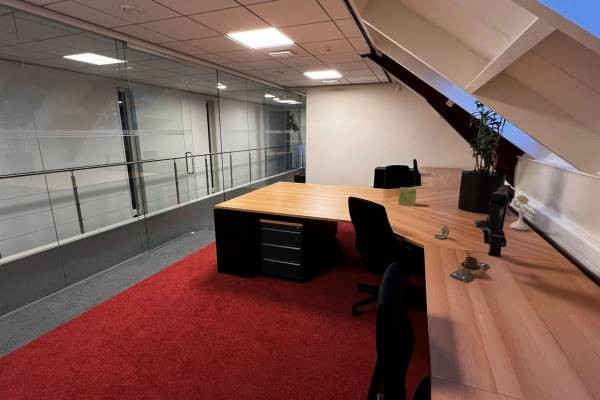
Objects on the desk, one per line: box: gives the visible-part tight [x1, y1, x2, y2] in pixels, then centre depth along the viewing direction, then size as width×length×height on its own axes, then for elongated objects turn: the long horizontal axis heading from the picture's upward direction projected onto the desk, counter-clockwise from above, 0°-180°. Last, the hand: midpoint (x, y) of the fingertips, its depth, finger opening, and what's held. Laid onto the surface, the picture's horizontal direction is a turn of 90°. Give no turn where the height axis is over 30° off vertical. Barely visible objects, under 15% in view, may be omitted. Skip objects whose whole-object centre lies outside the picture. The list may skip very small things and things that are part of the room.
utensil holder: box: [464, 249, 478, 270], centre depth 154 cm, size 6×6×12 cm
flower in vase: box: [509, 194, 530, 231], centre depth 216 cm, size 13×11×25 cm
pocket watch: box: [434, 223, 450, 240], centre depth 201 cm, size 8×8×10 cm
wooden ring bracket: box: [449, 260, 490, 283], centre depth 154 cm, size 27×11×3 cm, turn 129°
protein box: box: [397, 187, 417, 207], centre depth 290 cm, size 10×15×16 cm
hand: (487, 245), depth 158 cm, fingers open, 9 cm apart
